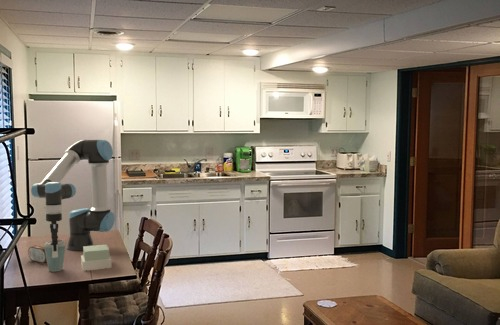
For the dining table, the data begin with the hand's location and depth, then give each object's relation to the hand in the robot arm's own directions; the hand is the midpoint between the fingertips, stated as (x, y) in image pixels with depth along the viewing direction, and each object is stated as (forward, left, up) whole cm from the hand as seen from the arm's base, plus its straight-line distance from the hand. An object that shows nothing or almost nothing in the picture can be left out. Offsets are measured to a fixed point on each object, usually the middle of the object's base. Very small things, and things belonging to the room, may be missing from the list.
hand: (54, 254), depth 262 cm
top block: (0, +20, -4) cm, 21 cm away
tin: (-20, -8, -9) cm, 23 cm away
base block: (0, +20, -9) cm, 22 cm away
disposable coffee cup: (0, 0, -8) cm, 8 cm away
